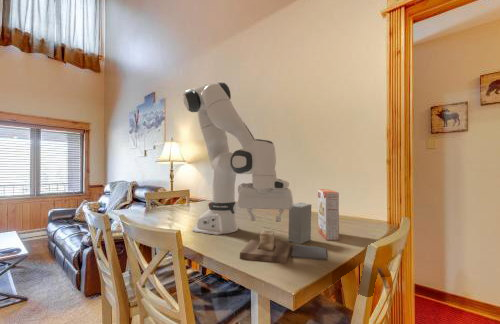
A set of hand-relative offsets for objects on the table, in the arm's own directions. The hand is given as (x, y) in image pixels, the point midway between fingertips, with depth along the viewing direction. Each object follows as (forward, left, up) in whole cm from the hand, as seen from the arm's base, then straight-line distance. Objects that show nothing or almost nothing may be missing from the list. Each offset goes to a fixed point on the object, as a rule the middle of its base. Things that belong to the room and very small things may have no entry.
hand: (265, 220), depth 91 cm
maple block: (0, +1, -12) cm, 12 cm away
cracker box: (+23, +30, -12) cm, 40 cm away
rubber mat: (+15, +5, -12) cm, 20 cm away
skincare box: (+11, +19, -12) cm, 25 cm away
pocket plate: (0, +1, -12) cm, 12 cm away
